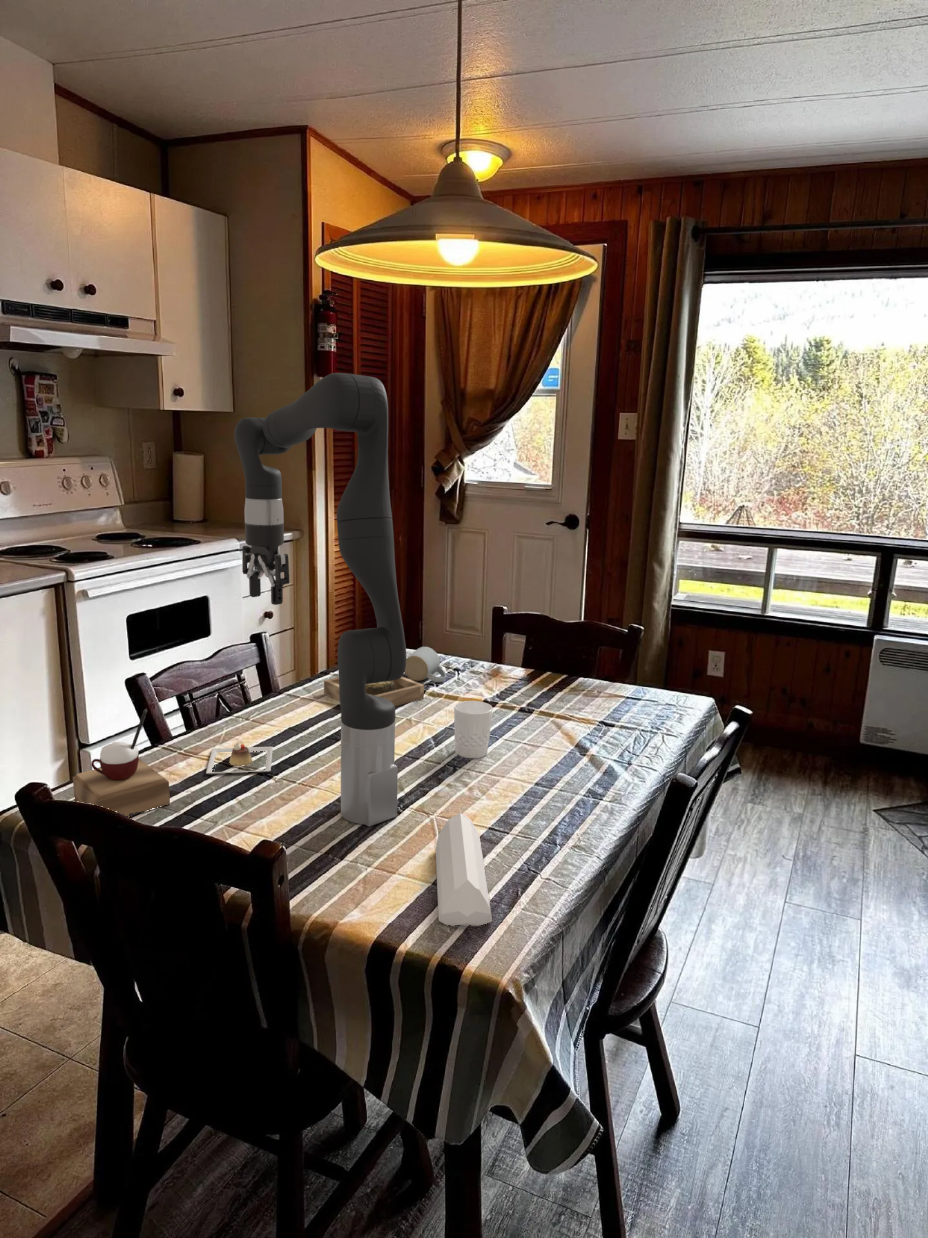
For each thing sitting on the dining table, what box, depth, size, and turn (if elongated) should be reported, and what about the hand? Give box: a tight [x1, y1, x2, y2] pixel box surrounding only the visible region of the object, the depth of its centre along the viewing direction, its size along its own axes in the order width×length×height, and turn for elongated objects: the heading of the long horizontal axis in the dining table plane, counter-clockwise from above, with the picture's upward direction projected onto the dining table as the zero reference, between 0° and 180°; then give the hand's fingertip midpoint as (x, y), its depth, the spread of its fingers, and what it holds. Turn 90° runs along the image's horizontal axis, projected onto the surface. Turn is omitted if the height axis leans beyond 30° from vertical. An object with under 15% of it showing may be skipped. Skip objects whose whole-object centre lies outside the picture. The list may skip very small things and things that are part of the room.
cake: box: [365, 681, 396, 695], centre depth 209 cm, size 10×10×5 cm
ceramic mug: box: [404, 646, 447, 683], centre depth 221 cm, size 11×8×8 cm
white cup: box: [453, 700, 493, 759], centre depth 174 cm, size 8×8×10 cm
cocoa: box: [90, 708, 148, 781], centre depth 145 cm, size 10×6×12 cm, turn 79°
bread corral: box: [323, 676, 425, 707], centre depth 206 cm, size 17×17×4 cm
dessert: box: [205, 742, 274, 775], centre depth 166 cm, size 12×12×5 cm
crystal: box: [435, 812, 493, 927], centre depth 126 cm, size 7×7×24 cm
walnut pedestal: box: [72, 758, 171, 818], centre depth 147 cm, size 12×12×5 cm
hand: (265, 600), depth 171 cm, fingers open, 8 cm apart
